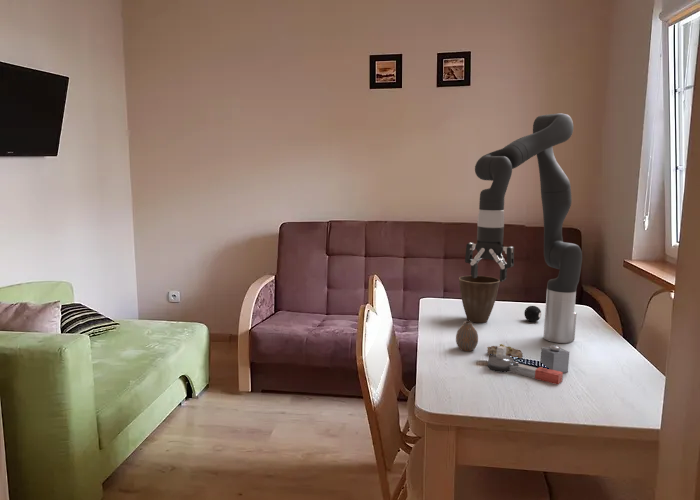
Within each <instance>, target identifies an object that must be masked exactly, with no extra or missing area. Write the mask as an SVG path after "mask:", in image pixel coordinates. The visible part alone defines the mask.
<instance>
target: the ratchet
mask: <svg viewBox="0 0 700 500" xmlns="http://www.w3.org/2000/svg"><path fill="white" fill-rule="evenodd" d="M506 347H507V346H505V347H503V346H500V345H499V346H497V354H492V355H489V354H488V362H487V368H488V369H489V370H491V371H493V372H497V373H513V374H517V375H519V376H523V377H529V378H533V379H535V380H538V381H543V382H545V383H549V384H553V385H557V386H558V385H559V384H561V383H563V378H564V373H563V372H560V371H555V370H551V369H547V368H543V367H540V366H539V367H535V366H531V365H527V364H523V363H519V361H517V360H515V359H513V358H512V357H510V356H508V355H506ZM514 360H515V361H514Z"/></svg>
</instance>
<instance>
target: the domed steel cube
mask: <svg viewBox="0 0 700 500" xmlns="http://www.w3.org/2000/svg"><path fill="white" fill-rule="evenodd" d="M540 349H541V350H540V358H539V359H540V360H539V364H540V363H542V364H544V365H545V366H546V367H548V368H549V369H551V370H555V371H560V372H563V374H564V373H569V364H570V362H569V361H570V351H569V350H567V349H563V348H562V347H561V345H558V344H550V346H547V347H546V346H545V347H541V348H540Z"/></svg>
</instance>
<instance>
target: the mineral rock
mask: <svg viewBox="0 0 700 500" xmlns="http://www.w3.org/2000/svg"><path fill="white" fill-rule="evenodd" d="M499 346H503V347H506V355H508V356H512V357H518V358H520V359H521V358H523V354H524V353H523V352H522V350H521V349H519V348H514V347H511V346H505V345H504V344H503V343H501V344H499ZM497 347H498V345H491V346H487V347H486V348H487V350H486V351H487V354H488V356H489V355H490V354H497Z"/></svg>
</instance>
